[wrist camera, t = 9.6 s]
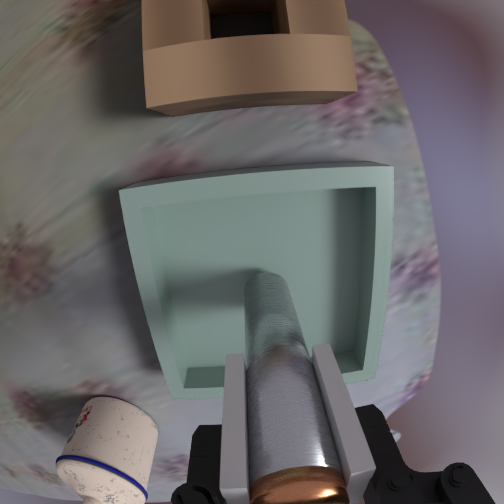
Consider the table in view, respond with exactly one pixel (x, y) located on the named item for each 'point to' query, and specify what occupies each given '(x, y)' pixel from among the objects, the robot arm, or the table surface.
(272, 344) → the pin
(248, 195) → the tray
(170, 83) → the block
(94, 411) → the teacup with lid
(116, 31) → the table surface
